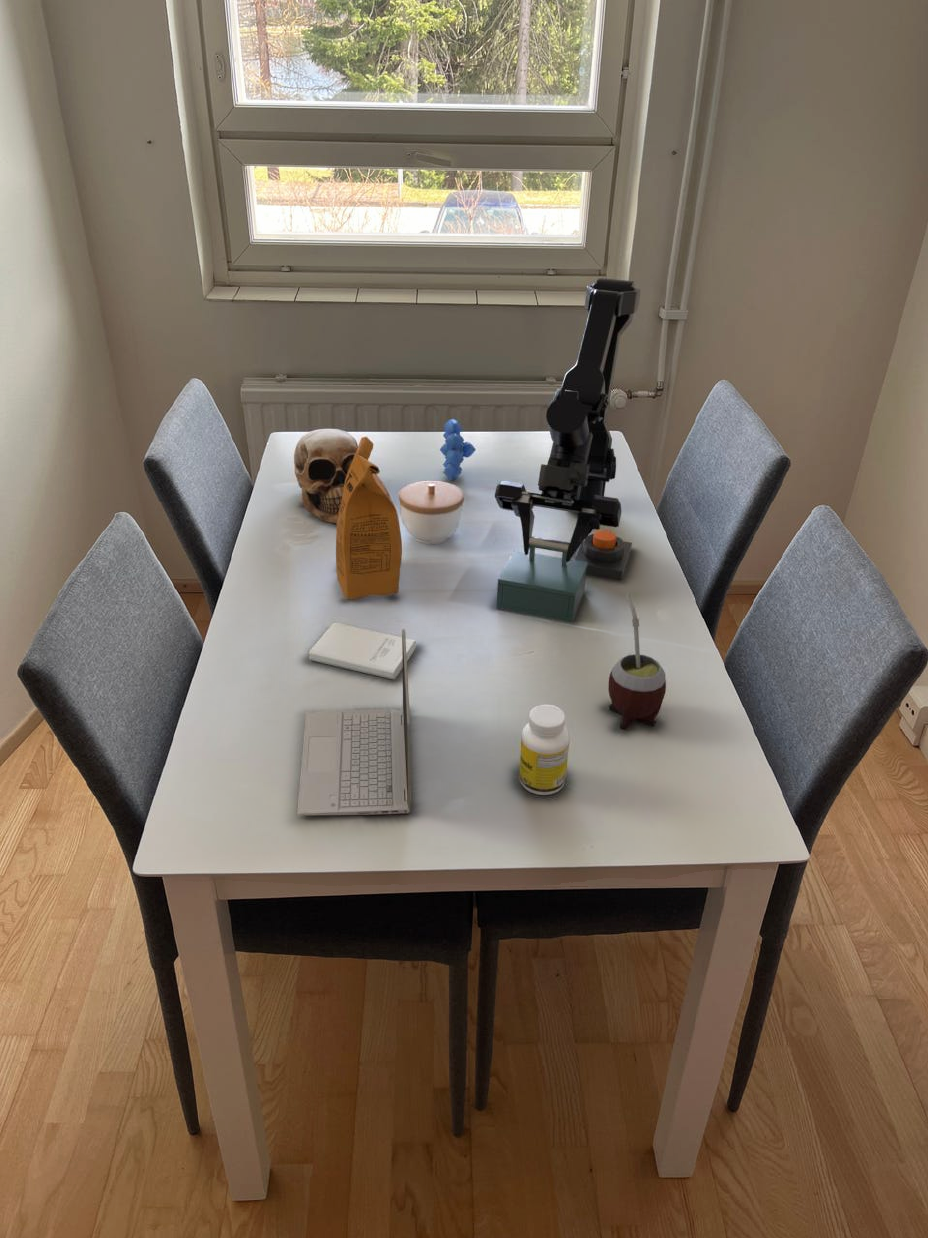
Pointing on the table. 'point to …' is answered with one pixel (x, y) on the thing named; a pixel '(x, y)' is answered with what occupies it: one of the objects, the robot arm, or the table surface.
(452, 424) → the grapes
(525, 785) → the supplement bottle
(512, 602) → the dark green toolbox
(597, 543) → the button
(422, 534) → the trinket box
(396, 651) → the hard drive
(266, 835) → the table surface
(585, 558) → the button block
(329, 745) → the laptop
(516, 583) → the lid
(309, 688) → the table surface
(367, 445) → the coffee package
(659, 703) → the mate gourd
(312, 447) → the skull
